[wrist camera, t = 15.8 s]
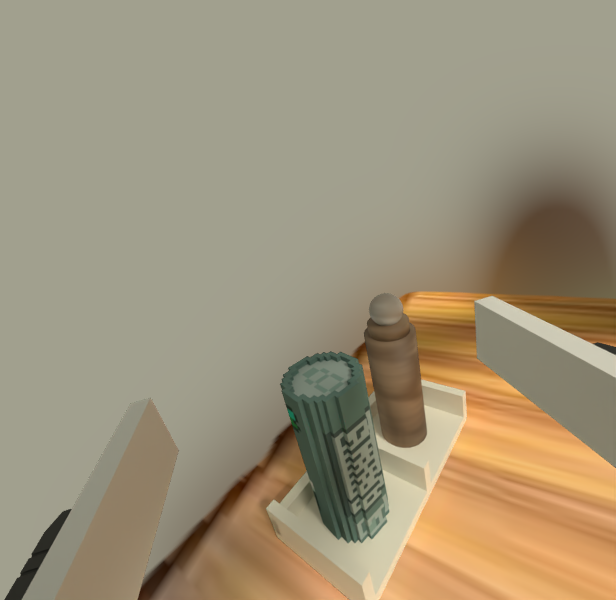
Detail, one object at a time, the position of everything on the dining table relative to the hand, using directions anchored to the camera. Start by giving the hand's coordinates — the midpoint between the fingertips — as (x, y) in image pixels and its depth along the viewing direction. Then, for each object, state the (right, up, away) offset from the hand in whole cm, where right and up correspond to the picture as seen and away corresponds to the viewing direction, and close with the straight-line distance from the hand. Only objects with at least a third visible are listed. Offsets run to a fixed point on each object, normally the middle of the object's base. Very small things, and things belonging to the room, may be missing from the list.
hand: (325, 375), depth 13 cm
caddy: (+7, -15, +21) cm, 27 cm away
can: (+4, -16, +17) cm, 24 cm away
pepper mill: (+10, -12, +24) cm, 29 cm away
